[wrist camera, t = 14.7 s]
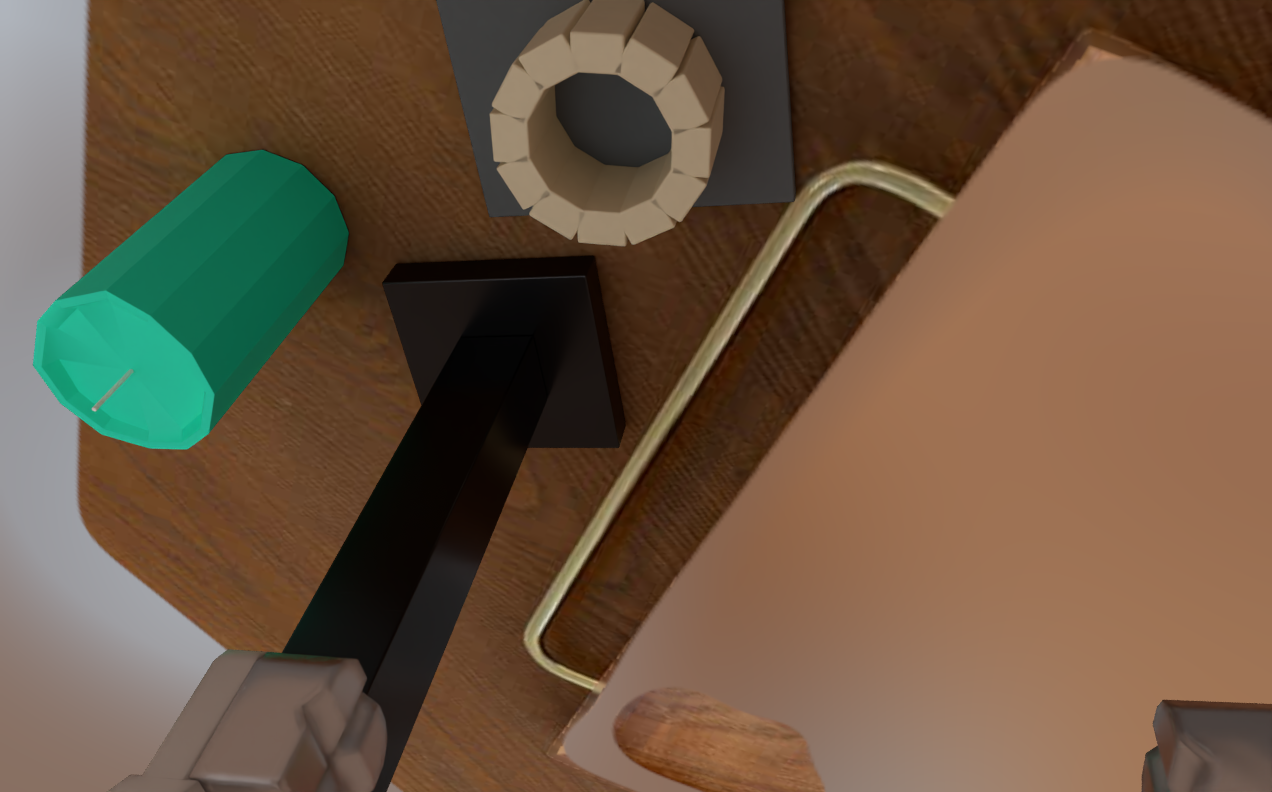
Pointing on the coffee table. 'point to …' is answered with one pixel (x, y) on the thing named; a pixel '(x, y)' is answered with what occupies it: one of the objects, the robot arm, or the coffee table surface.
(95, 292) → the candle
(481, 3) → the mat
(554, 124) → the tan segmented ring
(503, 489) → the stand
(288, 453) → the coffee table surface
